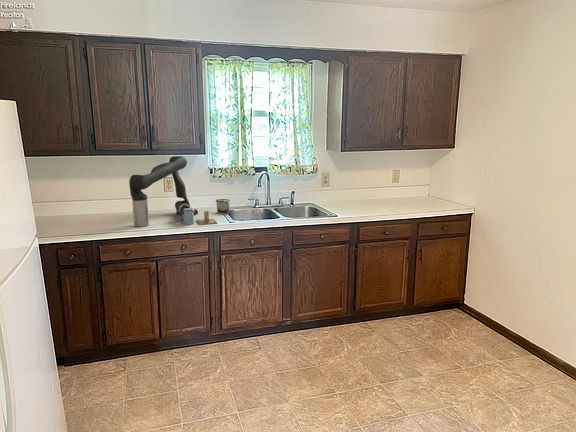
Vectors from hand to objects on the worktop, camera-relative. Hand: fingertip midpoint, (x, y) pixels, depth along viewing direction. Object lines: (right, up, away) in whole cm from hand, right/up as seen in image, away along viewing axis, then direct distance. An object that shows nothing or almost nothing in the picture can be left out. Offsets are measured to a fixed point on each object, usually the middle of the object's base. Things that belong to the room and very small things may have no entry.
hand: (188, 214), depth 291 cm
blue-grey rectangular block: (0, -6, +1) cm, 6 cm away
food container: (+20, +1, +35) cm, 40 cm away
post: (+11, -5, +5) cm, 13 cm away
